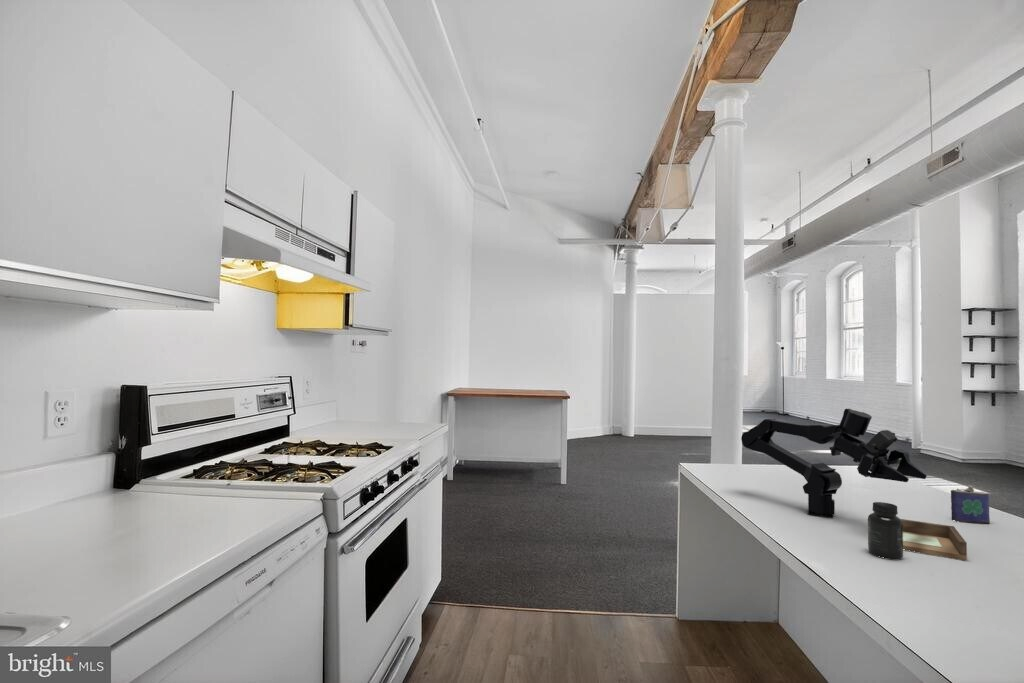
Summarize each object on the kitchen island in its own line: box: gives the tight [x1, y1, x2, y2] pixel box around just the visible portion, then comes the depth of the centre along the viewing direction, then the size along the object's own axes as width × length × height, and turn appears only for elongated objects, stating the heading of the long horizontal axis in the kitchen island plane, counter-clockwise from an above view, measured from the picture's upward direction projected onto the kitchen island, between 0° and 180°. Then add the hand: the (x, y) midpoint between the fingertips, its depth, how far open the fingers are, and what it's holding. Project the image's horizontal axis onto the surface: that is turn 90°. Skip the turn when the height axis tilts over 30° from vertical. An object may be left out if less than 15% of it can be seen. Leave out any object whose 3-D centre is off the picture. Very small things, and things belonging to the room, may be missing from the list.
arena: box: [900, 518, 968, 561], centre depth 132 cm, size 16×15×4 cm
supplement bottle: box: [867, 501, 904, 560], centre depth 124 cm, size 7×7×12 cm
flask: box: [950, 485, 991, 525], centre depth 153 cm, size 9×3×11 cm, turn 74°
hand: (917, 478), depth 136 cm, fingers open, 9 cm apart
